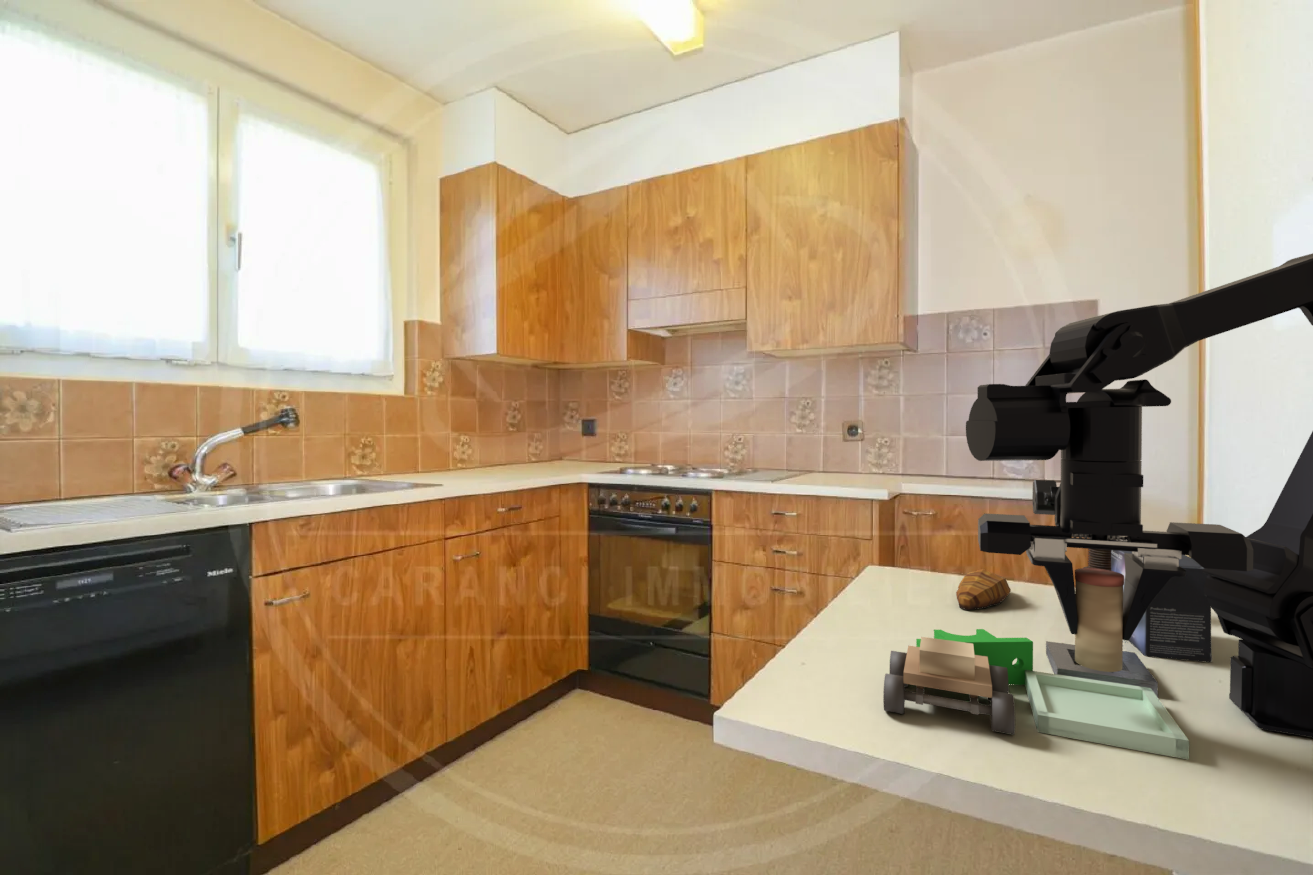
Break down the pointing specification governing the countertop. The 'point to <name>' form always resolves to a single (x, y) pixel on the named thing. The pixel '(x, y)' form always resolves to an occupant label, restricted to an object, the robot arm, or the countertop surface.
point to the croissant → (981, 590)
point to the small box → (1174, 616)
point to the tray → (1104, 713)
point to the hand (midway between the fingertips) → (1098, 635)
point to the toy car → (950, 681)
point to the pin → (1099, 619)
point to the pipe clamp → (997, 651)
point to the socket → (1130, 674)
